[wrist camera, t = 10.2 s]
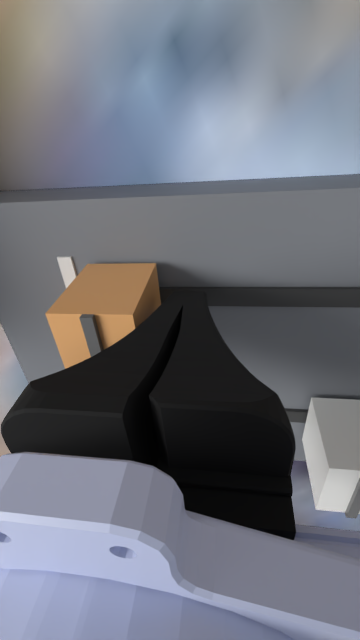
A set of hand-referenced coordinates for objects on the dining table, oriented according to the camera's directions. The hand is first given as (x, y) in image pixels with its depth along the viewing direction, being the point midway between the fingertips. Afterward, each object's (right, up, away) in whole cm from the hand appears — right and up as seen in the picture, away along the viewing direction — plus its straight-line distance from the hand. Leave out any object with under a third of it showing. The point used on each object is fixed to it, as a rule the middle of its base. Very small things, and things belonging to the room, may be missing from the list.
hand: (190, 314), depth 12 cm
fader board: (+3, -1, +4) cm, 5 cm away
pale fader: (+7, -5, +4) cm, 10 cm away
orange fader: (-3, +1, +1) cm, 3 cm away
